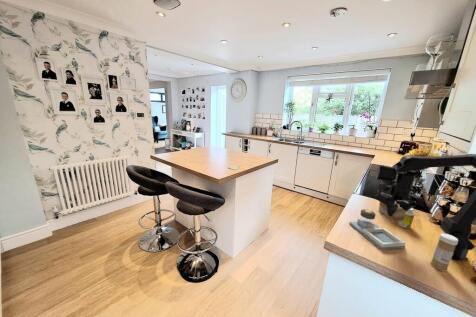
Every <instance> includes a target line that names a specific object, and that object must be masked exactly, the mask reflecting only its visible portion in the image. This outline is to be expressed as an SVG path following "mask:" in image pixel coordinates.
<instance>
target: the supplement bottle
mask: <svg viewBox="0 0 476 317" xmlns="http://www.w3.org/2000/svg"><path fill="white" fill-rule="evenodd" d="M414 210H415V208H414V207H412V208H411V209H409V210H408V211H407V212H406V213H405V217H404V220H403V221H396V223H397V225H398V226H399V227H402V228H405V229H410V228H412V224H413V221H414V217H415V215H416V214H415V212H414Z"/></svg>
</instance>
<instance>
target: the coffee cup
mask: <svg viewBox="0 0 476 317" xmlns="http://www.w3.org/2000/svg"><path fill="white" fill-rule="evenodd" d="M380 194H387V195H389V194H388V193H386V192H383V193H382V192H381V193H380ZM389 196H391V197H392V195H389ZM378 206H379V207H378V212H380V213H381V214H382V215H385V212H386V208H387V206H386V204H383V203H382V202H380V201H379V205H378Z"/></svg>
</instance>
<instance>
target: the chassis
mask: <svg viewBox="0 0 476 317" xmlns="http://www.w3.org/2000/svg"><path fill="white" fill-rule="evenodd" d="M348 225H350V226H351V227H352V228H354V229H355V231H357V232H358V233H359V234H361V235H362V236H363V237H364V238H366V239H367V240H368V241H369V242H370V243H371V244H373V245H374V246H375V247H376V248H377V249H378V250H380V251H383V250H384V251H385V250H398V249H399V250H400V249H406V242H405V241H404V240H402V239H401V238H400V237H398V236H396V235H395V234H393V233H391V231H389V230H388V229H386V228H384V227H379V226H378V225H377V224H376V223H374V222H373V221H372V220H371V219H367V218H364V217H362V218H359V217H358V218H357V221H349V222H348Z"/></svg>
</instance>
